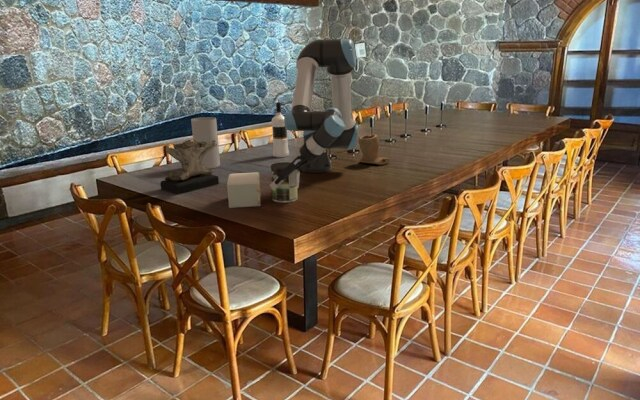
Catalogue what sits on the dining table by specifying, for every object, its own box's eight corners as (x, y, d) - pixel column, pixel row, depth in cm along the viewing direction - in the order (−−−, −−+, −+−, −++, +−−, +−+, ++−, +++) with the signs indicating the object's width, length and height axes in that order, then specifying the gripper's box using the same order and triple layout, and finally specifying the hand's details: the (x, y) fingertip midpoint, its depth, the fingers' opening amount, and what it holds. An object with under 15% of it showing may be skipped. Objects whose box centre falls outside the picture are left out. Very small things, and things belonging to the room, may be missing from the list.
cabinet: (260, 195, 209) (259, 171, 206) (260, 207, 193) (259, 182, 190) (231, 197, 208) (229, 173, 205) (228, 209, 192) (226, 183, 189)
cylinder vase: (214, 169, 257) (210, 120, 249) (191, 169, 259) (186, 120, 252) (223, 164, 268) (219, 117, 261) (202, 163, 271) (197, 117, 264)
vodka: (269, 156, 286) (266, 102, 277) (283, 153, 291) (280, 101, 283) (279, 158, 279) (276, 103, 270) (292, 156, 284) (290, 102, 276)
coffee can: (277, 204, 196) (275, 169, 192) (268, 197, 205) (266, 164, 201) (302, 200, 200) (300, 165, 196) (292, 194, 209) (290, 161, 205)
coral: (207, 178, 240) (203, 133, 234) (233, 185, 226) (229, 137, 220) (160, 189, 223) (154, 141, 217) (185, 197, 209) (179, 146, 203)
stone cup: (353, 164, 261) (353, 135, 256) (367, 160, 269) (366, 132, 265) (378, 167, 251) (378, 137, 247) (391, 163, 260) (391, 134, 256)
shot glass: (300, 185, 223) (299, 169, 221) (300, 189, 216) (299, 173, 214) (284, 185, 223) (284, 170, 221) (284, 190, 216) (283, 174, 214)
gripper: (305, 162, 181) (271, 199, 191) (331, 149, 202) (299, 183, 213) (291, 147, 181) (258, 184, 191) (319, 136, 203) (287, 170, 213)
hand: (279, 183), depth 202 cm, fingers open, 13 cm apart
